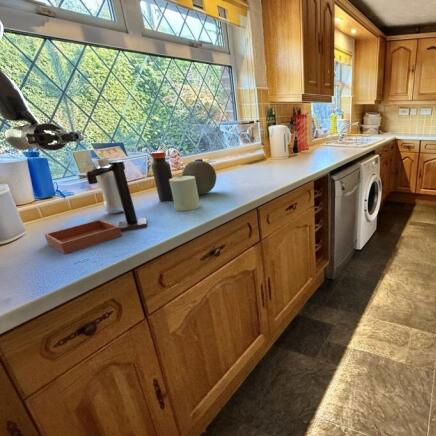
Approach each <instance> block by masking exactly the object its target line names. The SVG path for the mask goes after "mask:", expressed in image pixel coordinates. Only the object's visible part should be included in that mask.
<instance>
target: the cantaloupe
mask: <svg viewBox="0 0 436 436" xmlns="http://www.w3.org/2000/svg"><path fill="white" fill-rule="evenodd" d="M181 176H194V177H195V181H196V186H197V192H198V196H199V195H206V194H207V193H208V194H209V192H211V191H212V190H213V189H214V188H215V186H216V184H217V183H216V182H217V172H216V170H215V168H214V166H212V164H210V163H209V162H207V161H203V160H194V161H191V162H188V163H187V164H186V165H185V166H184V168H183V170H182V174H181Z"/></svg>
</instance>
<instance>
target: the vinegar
mask: <svg viewBox="0 0 436 436" xmlns="http://www.w3.org/2000/svg"><path fill="white" fill-rule="evenodd" d="M150 155H151V158H152V160H153V162H152V163H151V171H152V175H153V179H154V182H155V183H154V184H155V187H156V193H157V196H158V200H159V201H160V202H171V201H174V200H173V195H172V191H171V186H170V182H169V179H171V178H173V173H172V168H171V164H170V162H168V161H167V160H166V152H165V151H153V152H150Z"/></svg>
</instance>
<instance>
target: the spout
mask: <svg viewBox="0 0 436 436" xmlns="http://www.w3.org/2000/svg"><path fill="white" fill-rule="evenodd" d="M97 168H98V167H97ZM97 168H94V169H92V170H89V171H87V172H86V173H85V175H86V179H87V183H88V184H89V185H95V184H99V183H98V181H97V178H96V176H99V175H102V174H104V173H107V172H110V171H120V170H124V171H125V170H126V166H125V163H124V160H111V161H109V165H107V166H104V167H101V168H98V169H97Z"/></svg>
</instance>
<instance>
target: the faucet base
mask: <svg viewBox="0 0 436 436" xmlns="http://www.w3.org/2000/svg"><path fill="white" fill-rule="evenodd" d="M113 175H114V178H115V182H116V186H117V189H118V193H119V196H120V200H121V204H122V207H123V211H122V212H123V215H124V218H125V220H124V221H119V222H118V225H117V226H119V227H120V231H121V232H125V231H131V230H137V229H143V228H148V219H147V217H141V218H138V217H137V213H136V210H135V205H134V202H133V199H132V195H131V191H130V187H129V183H128V180H127V176H126V172H125V170H120V171H113Z"/></svg>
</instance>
